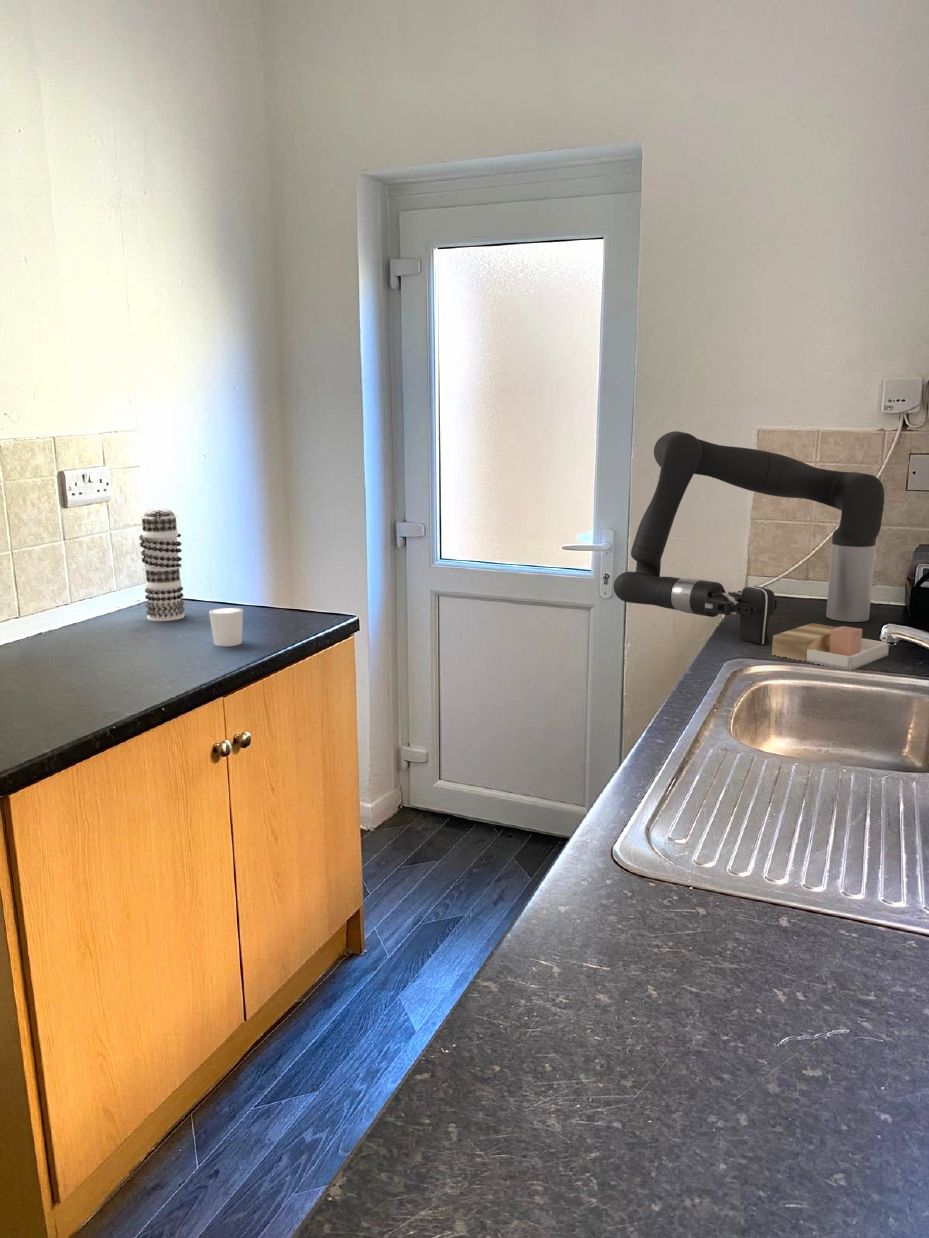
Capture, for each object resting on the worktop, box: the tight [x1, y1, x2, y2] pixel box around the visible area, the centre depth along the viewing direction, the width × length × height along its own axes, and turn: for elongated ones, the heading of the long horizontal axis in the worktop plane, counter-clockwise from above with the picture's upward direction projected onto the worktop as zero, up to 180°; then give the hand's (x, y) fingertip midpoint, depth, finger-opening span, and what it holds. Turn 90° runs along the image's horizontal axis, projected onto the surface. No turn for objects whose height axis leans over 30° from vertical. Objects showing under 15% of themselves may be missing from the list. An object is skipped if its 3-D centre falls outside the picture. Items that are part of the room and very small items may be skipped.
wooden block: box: [771, 622, 839, 662], centre depth 191 cm, size 16×7×4 cm, turn 134°
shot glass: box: [208, 607, 244, 647], centre depth 198 cm, size 7×7×7 cm
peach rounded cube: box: [829, 625, 863, 656], centre depth 185 cm, size 5×5×4 cm
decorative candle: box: [138, 508, 185, 622], centre depth 221 cm, size 9×9×25 cm
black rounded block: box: [738, 586, 776, 645], centre depth 198 cm, size 7×4×11 cm, turn 24°
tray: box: [806, 637, 890, 672], centre depth 185 cm, size 17×9×2 cm, turn 134°
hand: (766, 607), depth 196 cm, fingers open, 8 cm apart
